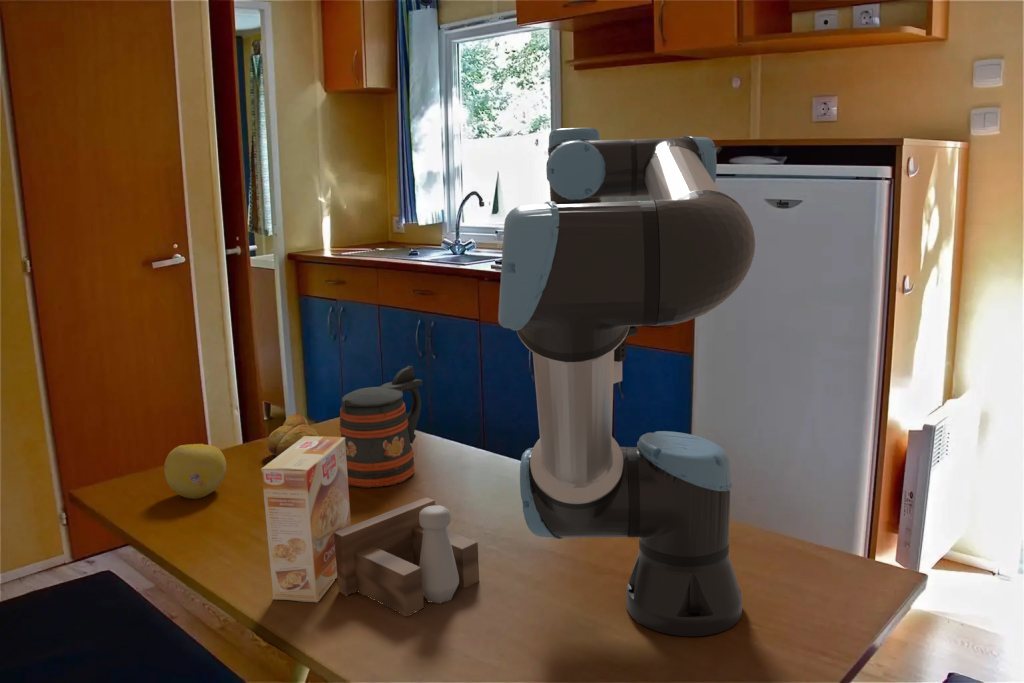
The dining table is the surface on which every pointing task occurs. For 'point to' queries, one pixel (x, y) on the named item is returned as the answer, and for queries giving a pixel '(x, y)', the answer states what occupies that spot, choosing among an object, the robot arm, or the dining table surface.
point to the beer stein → (380, 431)
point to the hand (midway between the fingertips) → (579, 376)
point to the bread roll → (289, 434)
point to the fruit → (195, 470)
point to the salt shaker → (437, 555)
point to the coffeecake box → (305, 516)
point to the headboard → (395, 558)
